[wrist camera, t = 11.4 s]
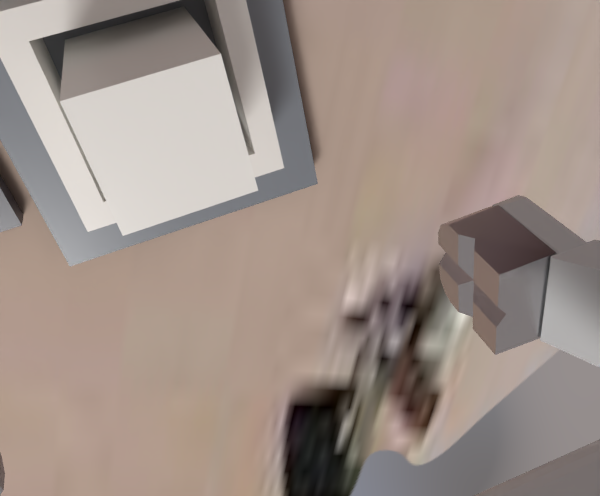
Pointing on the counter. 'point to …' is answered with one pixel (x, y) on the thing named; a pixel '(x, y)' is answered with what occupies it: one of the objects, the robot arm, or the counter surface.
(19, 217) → the phone
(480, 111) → the counter surface
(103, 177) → the block
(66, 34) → the dock
